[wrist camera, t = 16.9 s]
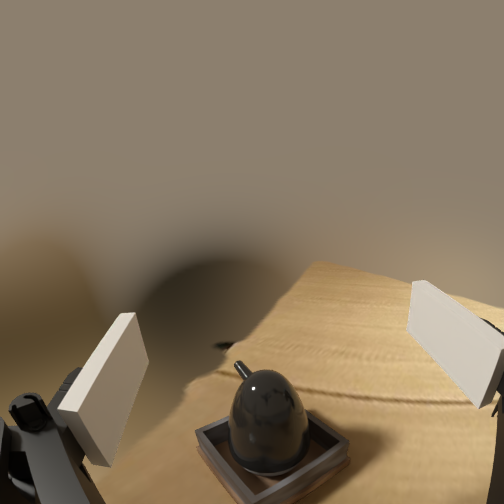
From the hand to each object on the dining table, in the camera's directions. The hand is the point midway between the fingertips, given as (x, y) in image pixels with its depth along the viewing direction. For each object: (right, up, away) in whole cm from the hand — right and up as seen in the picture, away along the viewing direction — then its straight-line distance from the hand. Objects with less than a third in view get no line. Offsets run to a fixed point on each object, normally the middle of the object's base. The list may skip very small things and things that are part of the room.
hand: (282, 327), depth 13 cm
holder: (+1, -25, +21) cm, 33 cm away
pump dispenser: (+1, -24, +21) cm, 32 cm away
